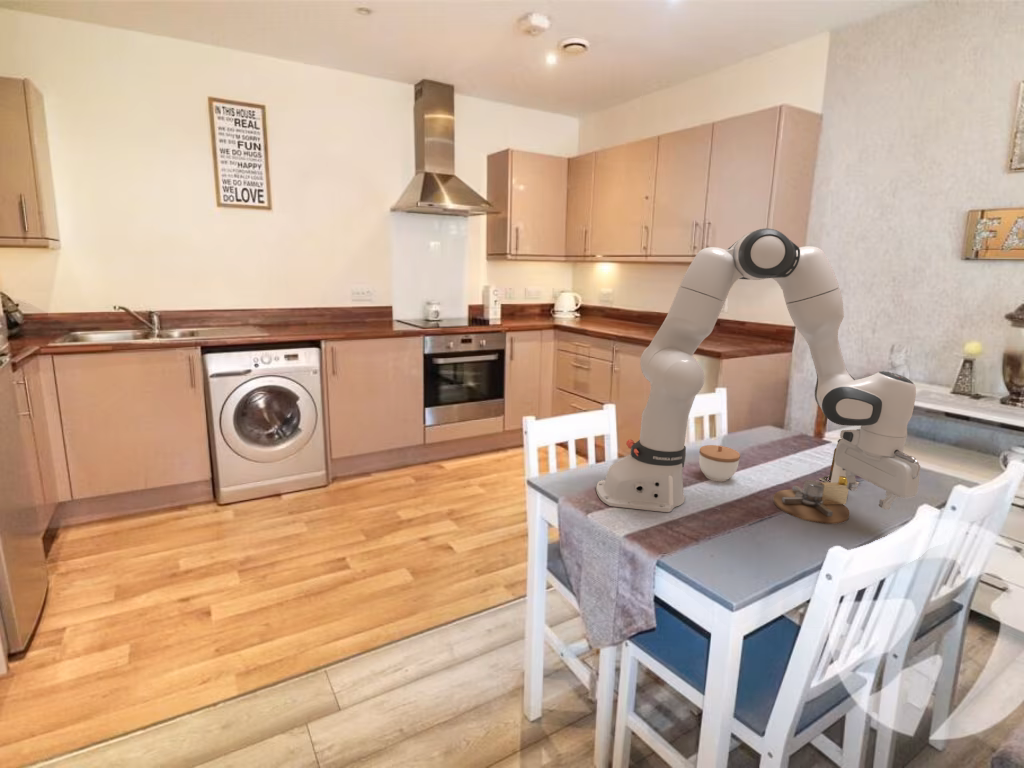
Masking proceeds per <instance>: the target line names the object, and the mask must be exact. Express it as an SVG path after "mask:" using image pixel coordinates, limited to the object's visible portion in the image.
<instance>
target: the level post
mask: <svg viewBox="0 0 1024 768" xmlns="http://www.w3.org/2000/svg"><path fill="white" fill-rule="evenodd" d="M845 472H846V470H845V469H843V468H841V467H839V466H838V465H836V463H835V461H834V467H833V472H832V477H831V482H832V483H838V481H839V477H840V476H844V477H846V475H845Z"/></svg>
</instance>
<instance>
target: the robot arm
mask: <svg viewBox="0 0 1024 768" xmlns="http://www.w3.org/2000/svg"><path fill="white" fill-rule="evenodd" d="M765 279H772V280H774V281H775V282H776V283H777V284H778V285H779V287H780V289H781V290H782V294H783V297H784V301H785V305H786V308H787V311H788V313H789V316H790V319H791V320H792V322H793V324H794V326H795V327H796V329H797V331H798V332H799V333H800V334H801V336H802V337H803V338H804V340H805V341H806V343H807V345H808V348H809V351H810V354H811V358H812V361H813V365H814V368H815V373H816V384H815V387H814V400H815V402H816V404H817V405H818V407H820V409H821V411H822V413H823V415H824V416H825V417H826V418H827V420H828V421H830V422H832V423H834V424H836V425H838V426H839V425H840V426H847V427H849V426H850V427H851V426H853V427H855V426H856V427H857V426H860V428H859V429H843V430H840V434H839V436H840V437H839V438H840V439H841V440H840V441H839V442H838V441H837V444H838V445H837V444H836V447H837V448H836V447H835V448H836V452H835V457H834V460H835V463H836V465H838V466H839V467H841V468H843V469H845V470H846V472H845V475H846V478H847V482H848V483H847V489H849V490H848V491H851V492H857V491H858V488H859V484H860V483H858V484H857V483H856V481H857V480H856V476H858V477H859V478H861V479H863V480H865V481H867V482H869V483H870V484H873V485H875V486H877V487H878V488H880V489H882V490H884V491H885V496H886V497H885V498H883V499H879V503H878V506H879V507H880V508H881V509H883V510H890V509H891V508H892V505H893V504H892V503H894V502H895V501H896V500H897V499H898V498H900V499H912V498H915V497H917V495H918V492H919V485H920V477H921V476H920V474H921V473H920V472H921V464H920V463H919V462H918V461H917V458H916V457H914V456H912V455H909V454H907V453H906V452H904V448H905V446H906V445H905V444H906V441H907V437H908V424H909V422H910V420H911V419H912V417H913V412H914V407H915V402H916V395H917V389H916V385H915V384H914V382H913V381H912V380H910V379H909V378H908V377H906V376H903V375H900V374H897V373H894V372H889V371H877V372H876V373H874V374H873V375H872V374H871V375H870V376H869V375H868V376H866V377H863V378H859V379H855V378H854V377H853V376H852V375H851V374H850V373H849V371H848V370H847V368H846V364H845V361H844V356H843V353H842V350H841V346H840V343H839V329H840V326H841V323H842V322H843V320H844V317H845V316H844V315H845V314H844V313H845V311H844V303H843V302H844V301H843V297H842V292H841V289H840V285H839V282H838V280H837V276H836V273H835V272H834V269H833V266H832V265H831V263H830V260H829V258H828V257H827V255H826V253H825V252H824V250H822V248H819V247H817V246H812V245H810V246H809V245H807V246H800V247H799V246H798V245H797V244H796V243H794V242H793V241H792V240H791V239H789V237H788V236H786V235H785V234H784V233H783V232H781V231H780V230H777V229H774V228H767V227H765V228H760V229H757V230H753V231H750V232H748V233H746V234H744V235H743V236H742V237H741V238H739V239H738V240H737V241H736V242H734V243H733V244H732V245H731V246H729V247H728V248H726V249H724V248H722V247H717V246H712V247H711V246H710V247H705V248H702V249H701V250H699V251H698V252H697V254H696V255H695V256H694V258H693V260H692V261H691V263H690V264H689V266H688V268H687V269H686V272H685V273H684V275H683V277H682V279H681V282H680V284H679V287H678V288H677V291H676V293H675V296H674V299H673V301H672V304H671V306H670V308H669V311H668V313H667V315H666V317H665V319H664V321H662V324H661V326H660V327H659V329H658V330H657V332H656V333H655V335H654V336H653V338H652V340H651V342H650V344H649V345H648V346H647V347H646V348H645V349H644V350H643V351H642V353H641V355H640V358H639V359H640V360H639V361H640V362H639V363H640V369H641V373H642V375H643V376H644V377H645V379H646V380H647V381H648V382H649V383H650V391H649V392H650V393H649V396H648V399H647V401H646V404H645V405H646V406H645V407H644V409H643V411H642V413H641V422H640V431H639V439H638V441H636V442H634V440H633V439H632V438H631V439H628V440H627V441H626V446H627V448H628V449H630V454H629V455H627V456H626V457H623V458H622V459H620V460H618V461H616V462H615V463H613V464H612V465H611V466H610V467H609V468H608V470H607V473H606V475H605V476H606V477H605V479H602V480H599V481H598V482H597V484H596V487H595V488H596V489H595V491H596V495H597V496H598V498H599V499H600V501H602V503H604V504H606V505H607V506H608V507H617V508H624V509H625V508H626V509H636V510H643V511H644V510H645V511H652V512H653V511H655V512H662V513H663V512H664V513H670V512H671V511H673V510H674V508H676V507H679V506H681V505H682V504H684V503H685V501H686V496H685V491H684V483H683V482H684V481H683V468H684V466H685V462H686V455H687V453H686V451H687V447H686V445H685V444H686V437H687V429H688V428H687V427H688V421H689V416H690V412H691V410H692V407H693V404H694V401H695V399H696V396H697V395H698V394H699V392H701V391H702V388H703V387H704V383H705V373H704V371H703V369H702V367H701V365H700V363H699V362H698V360H697V359H696V358H695V357H694V356H693V355H694V353H695V352H696V351H697V349H698V348H699V346H700V345H701V343H702V342H703V341H704V340H705V339H706V338H707V337H709V336H710V335H711V334H712V332H713V330H714V328H715V325H716V323H717V321H718V319H719V316H720V313H721V312H722V309H723V306H724V305H725V303H726V300H727V298H728V295H729V292H730V291H731V289H732V287H733V286H734V284H735V283H736V282H737V281H739V280H751V281H759V280H765Z"/></svg>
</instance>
